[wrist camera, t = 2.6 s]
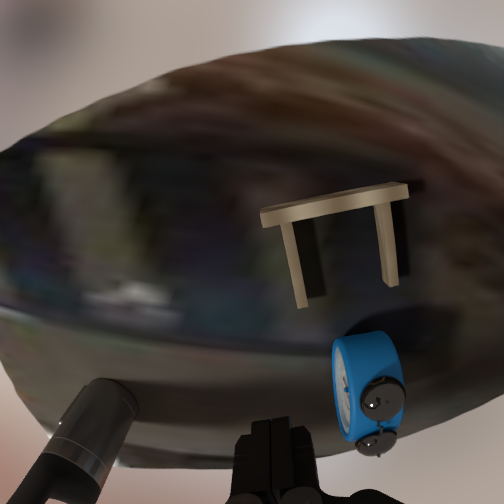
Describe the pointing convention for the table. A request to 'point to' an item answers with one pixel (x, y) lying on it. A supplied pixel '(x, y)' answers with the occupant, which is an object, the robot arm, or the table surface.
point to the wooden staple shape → (332, 204)
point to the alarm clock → (368, 391)
